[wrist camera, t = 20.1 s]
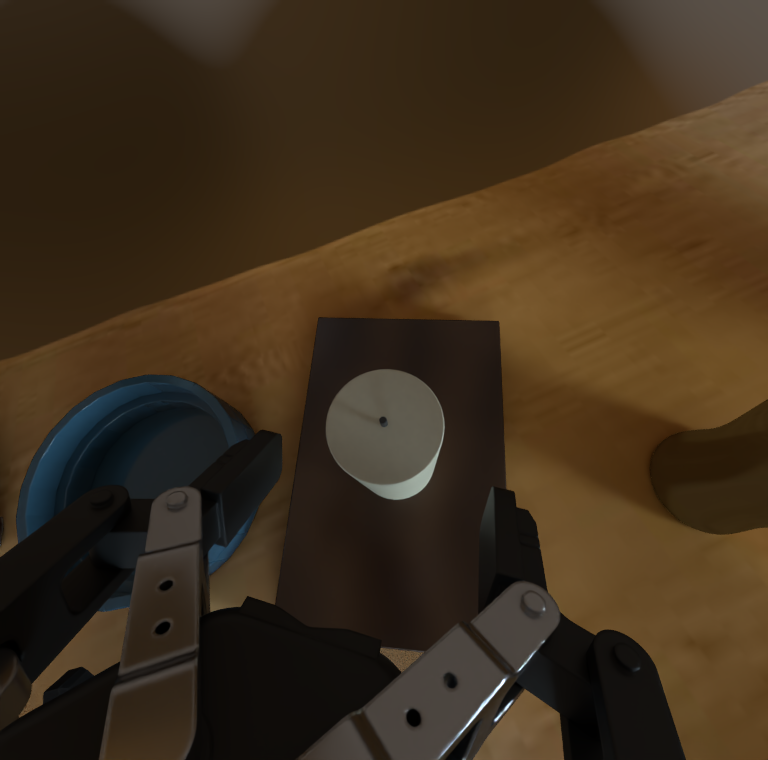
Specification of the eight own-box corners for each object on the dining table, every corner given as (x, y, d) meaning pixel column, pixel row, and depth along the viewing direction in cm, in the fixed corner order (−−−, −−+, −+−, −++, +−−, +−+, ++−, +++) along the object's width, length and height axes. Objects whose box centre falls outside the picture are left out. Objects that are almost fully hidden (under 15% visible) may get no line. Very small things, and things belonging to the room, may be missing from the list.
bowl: (280, 398, 27) (258, 378, 23) (243, 607, 23) (208, 623, 19) (112, 390, 29) (66, 370, 25) (45, 586, 24) (-24, 598, 20)
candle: (435, 423, 24) (446, 364, 15) (433, 502, 22) (444, 488, 13) (361, 420, 25) (329, 360, 16) (354, 496, 23) (313, 479, 14)
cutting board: (495, 330, 28) (499, 320, 26) (507, 653, 21) (513, 662, 19) (323, 326, 29) (318, 316, 28) (279, 628, 22) (270, 636, 21)
